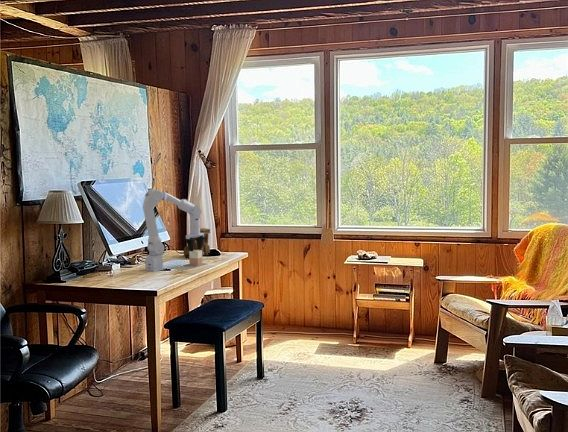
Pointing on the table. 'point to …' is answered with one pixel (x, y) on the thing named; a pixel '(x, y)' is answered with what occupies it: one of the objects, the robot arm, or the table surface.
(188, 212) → the robot arm
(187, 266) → the baseplate
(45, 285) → the table surface
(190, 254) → the cream brick
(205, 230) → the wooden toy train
